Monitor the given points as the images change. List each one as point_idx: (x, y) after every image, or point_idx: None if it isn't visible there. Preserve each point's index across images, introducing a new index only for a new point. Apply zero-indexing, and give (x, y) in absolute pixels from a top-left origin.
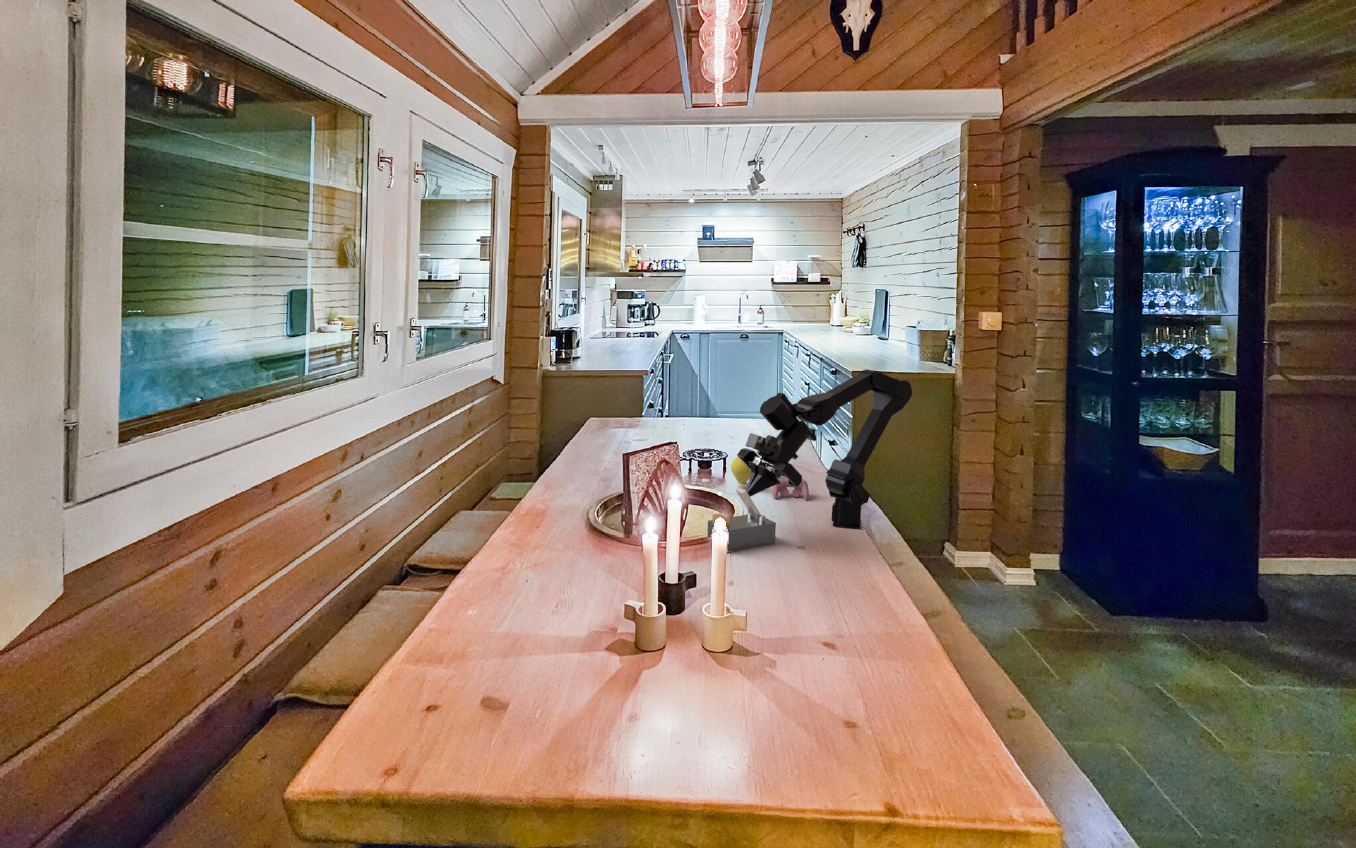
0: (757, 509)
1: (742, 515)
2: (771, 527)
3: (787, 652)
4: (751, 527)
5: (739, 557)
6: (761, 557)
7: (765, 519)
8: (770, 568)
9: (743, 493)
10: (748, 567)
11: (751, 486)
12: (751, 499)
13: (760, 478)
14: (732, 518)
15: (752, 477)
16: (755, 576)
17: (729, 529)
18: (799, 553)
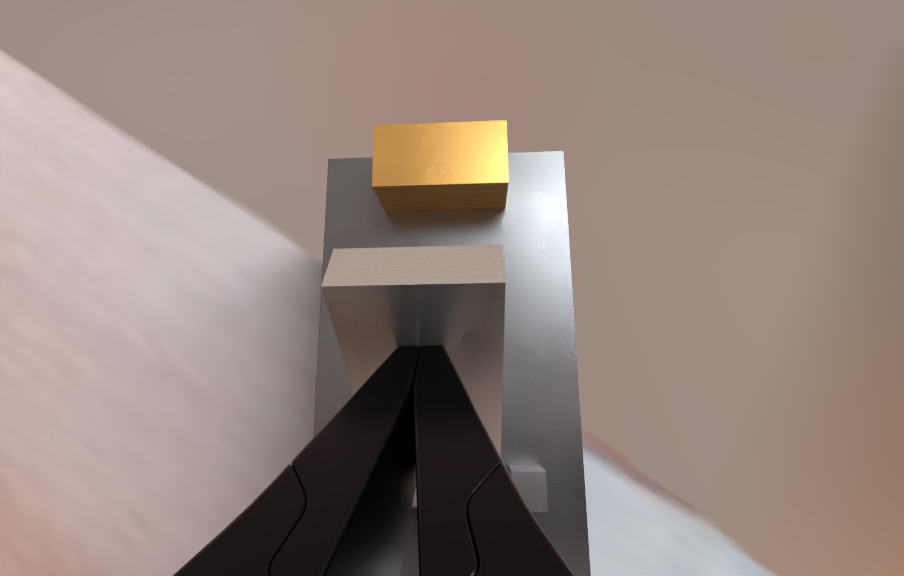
0: None
1: (576, 436)
2: None
3: None
4: (321, 348)
5: (283, 242)
6: (228, 339)
7: (412, 550)
8: (97, 297)
9: (334, 260)
10: (162, 214)
11: (358, 412)
12: (352, 388)
13: (187, 571)
14: (540, 326)
15: (445, 522)
16: (68, 188)
17: (342, 187)
18: (164, 570)
